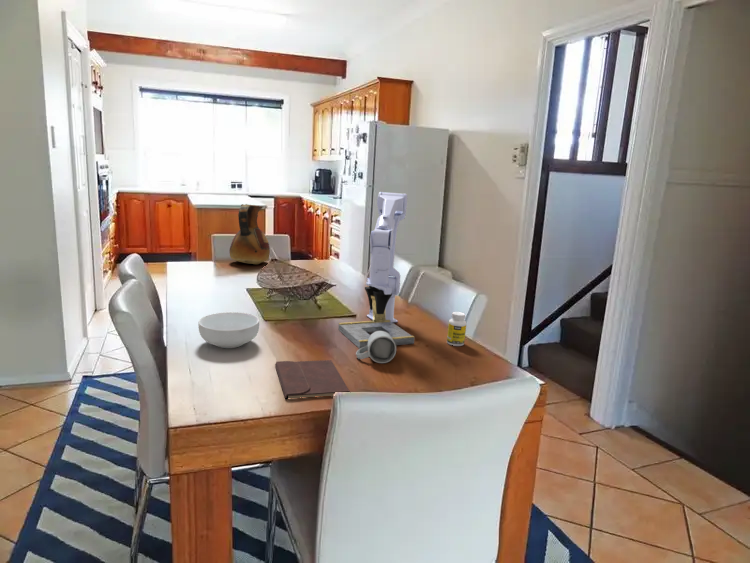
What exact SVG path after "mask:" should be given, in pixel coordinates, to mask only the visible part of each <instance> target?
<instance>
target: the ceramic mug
mask: <svg viewBox="0 0 750 563" xmlns="http://www.w3.org/2000/svg"><path fill="white" fill-rule="evenodd" d="M370 335H371V336H370V337H369V339H368V345H367V346H365V347H362V348H360V349H359V348H358V349H357V350H356V352H355V356H356V358H357V359H358V360H363V359H367V358H370V359H371V360H372V361H373V362H374V363H377V364H387V363H389V362H391V361H392V360H393V359H394V358H395V357H396V353H397V345H396V344H395V342H394V340H393V339H392V337H391V336H390V335H389V334H388V333H387V332H385V331H376V332H374V333H370Z"/></svg>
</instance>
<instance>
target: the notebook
mask: <svg viewBox="0 0 750 563" xmlns="http://www.w3.org/2000/svg"><path fill="white" fill-rule="evenodd" d="M274 366H275V370H276V373H277V376H278V380H279V383H280V385H281V389H282V392H284V393H283V395H284V396H283V397H284V399H285V398H287V396H288V398H300V397H301V398H302V397H315V396H331V397H334V396H333V394H334V393H335V392H350V389H349V388H348V386H347V384H346V382H345V381H344V379H343V378H342V376H341V374H340V373H339V370H338V369H337V367H336V366H335V364H334V363H333V360H332V359H322V360H304V361H302V360H301V361H299V360H298V361H293V360H292V361H291V360H283V361H282V360H281V361H276V362H275V364H274ZM350 393H351V392H350ZM288 398H287V399H288Z"/></svg>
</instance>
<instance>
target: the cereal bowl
mask: <svg viewBox="0 0 750 563" xmlns="http://www.w3.org/2000/svg"><path fill="white" fill-rule="evenodd" d="M259 330H260V319H259V317H258V316H256V315H254V314H251V313H247V312H246V313H245V312H234V311H232V312H227V311H225V312H217V313H211V314H207V315H206V316H203V317H201V318H200V319H199V320H198V333H199V335H200V337H201V338H202V339H203V341H205V342H207V344H210V345H214V346H216V347H218V348H222V349H234V348H239V347H241V346H243V345H245V344H246V343H247V344H248V343H250V342H251V341H252V340H253V339H254V338H256V336H257V335H258V333H259Z"/></svg>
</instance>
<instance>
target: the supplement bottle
mask: <svg viewBox="0 0 750 563" xmlns="http://www.w3.org/2000/svg"><path fill="white" fill-rule="evenodd" d="M466 331H467V321H466V314H465V312H461V311H453V312H452V313H451V318H449V321H448V327H447V337H446V343H447V344H448V345H449V346H452V345H453V347H461V346H462V347H463V346H464V345H465V342H466V341H465V338H466Z"/></svg>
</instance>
